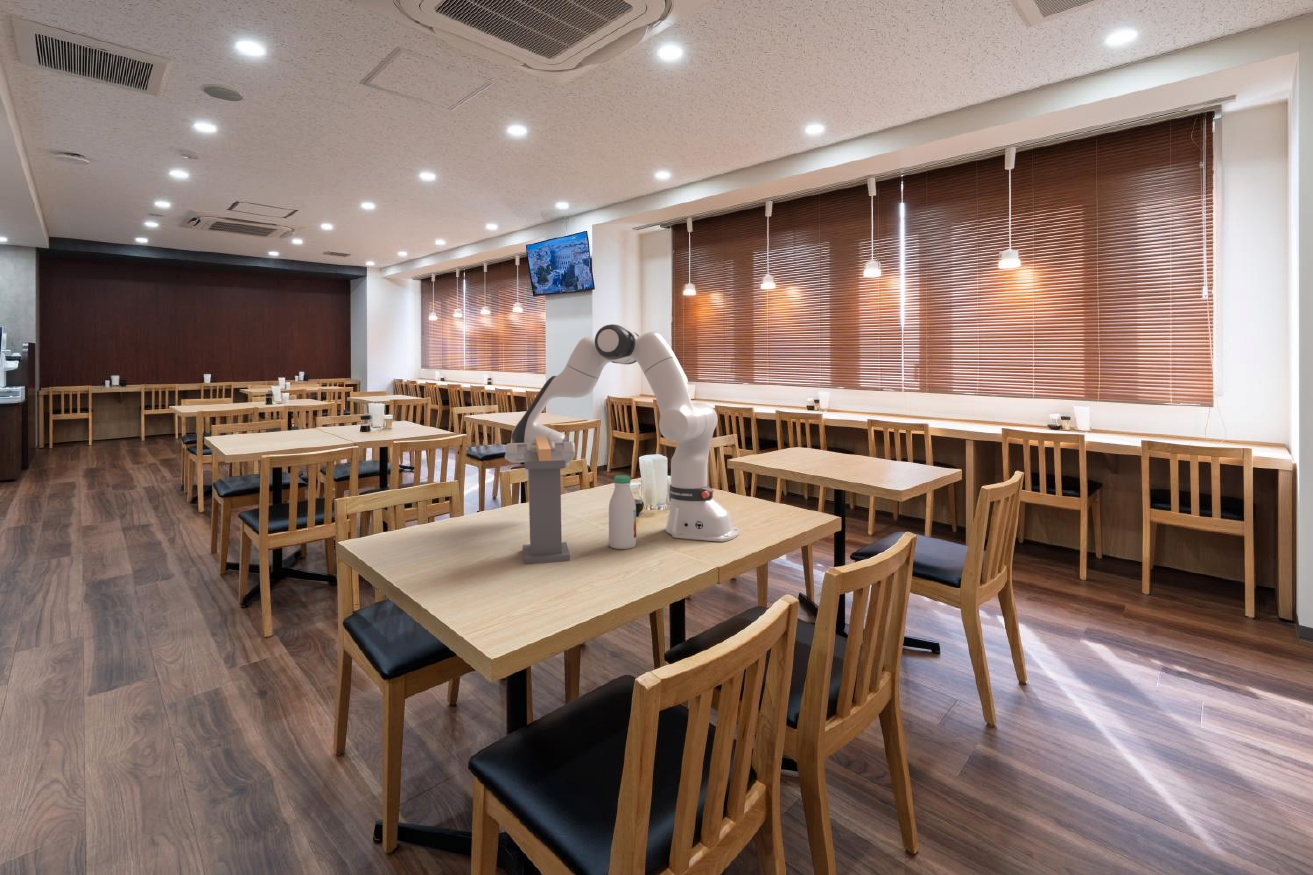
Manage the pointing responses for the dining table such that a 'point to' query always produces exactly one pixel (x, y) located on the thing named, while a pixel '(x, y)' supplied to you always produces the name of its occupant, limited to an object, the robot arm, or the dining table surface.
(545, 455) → the bar
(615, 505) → the milk bottle
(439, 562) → the dining table surface
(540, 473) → the stand
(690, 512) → the robot arm
